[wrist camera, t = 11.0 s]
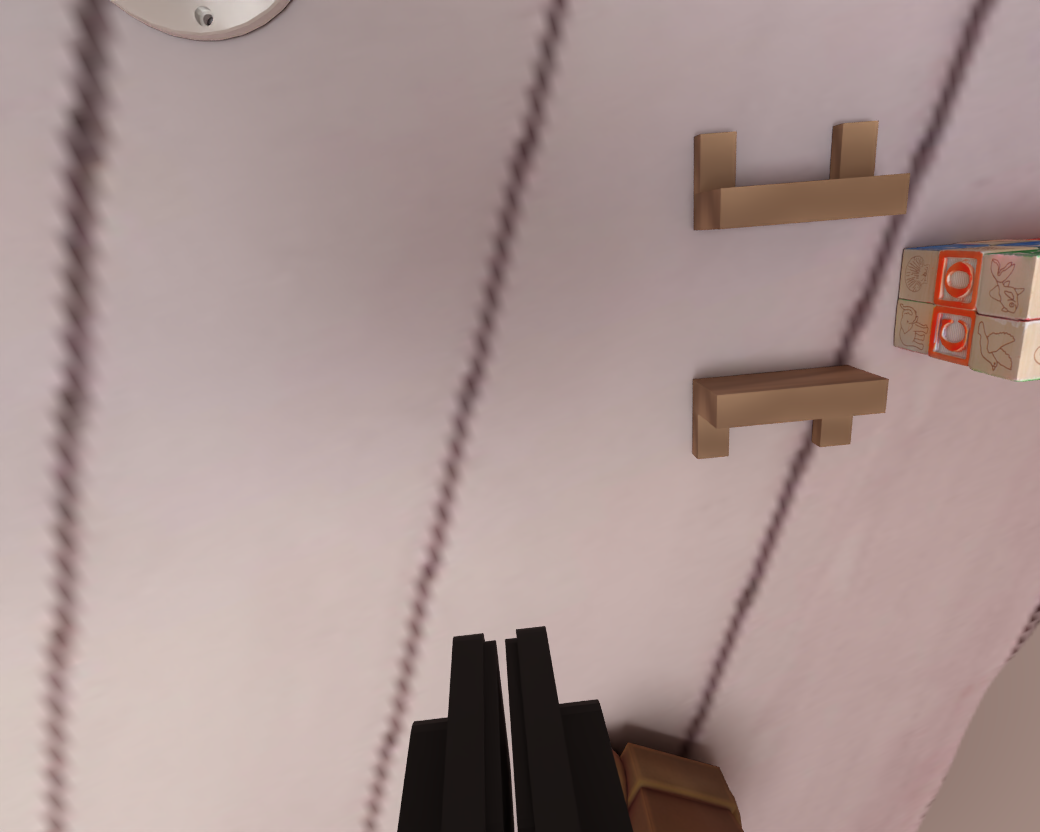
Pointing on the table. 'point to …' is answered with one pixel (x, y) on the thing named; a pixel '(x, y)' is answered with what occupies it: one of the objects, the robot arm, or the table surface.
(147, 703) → the table surface
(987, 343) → the stack of blocks
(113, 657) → the table surface
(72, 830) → the table surface
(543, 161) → the table surface
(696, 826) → the wooden toy train
